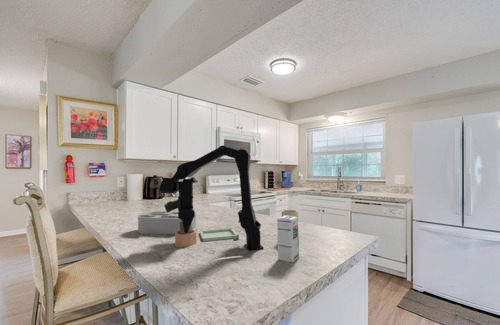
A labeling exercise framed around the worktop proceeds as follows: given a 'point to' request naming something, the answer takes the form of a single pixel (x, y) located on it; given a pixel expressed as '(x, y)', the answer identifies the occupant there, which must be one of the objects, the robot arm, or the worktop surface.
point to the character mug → (290, 213)
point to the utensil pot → (185, 239)
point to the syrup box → (288, 238)
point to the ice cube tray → (160, 223)
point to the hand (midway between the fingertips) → (185, 230)
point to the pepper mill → (183, 229)
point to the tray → (218, 234)
